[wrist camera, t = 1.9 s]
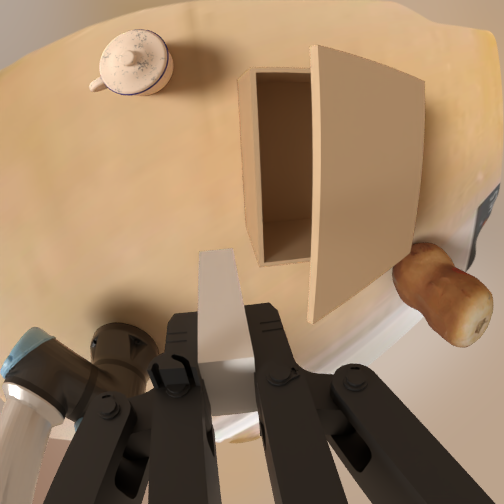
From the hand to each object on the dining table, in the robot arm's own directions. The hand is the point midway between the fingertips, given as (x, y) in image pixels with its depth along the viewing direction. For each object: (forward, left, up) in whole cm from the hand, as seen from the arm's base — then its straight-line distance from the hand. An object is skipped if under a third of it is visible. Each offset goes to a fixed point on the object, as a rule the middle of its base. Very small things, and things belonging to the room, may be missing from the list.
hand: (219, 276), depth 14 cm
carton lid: (0, -17, -16) cm, 23 cm away
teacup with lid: (+15, +10, -35) cm, 40 cm away
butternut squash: (-23, -39, -35) cm, 57 cm away
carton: (0, -16, -35) cm, 39 cm away
